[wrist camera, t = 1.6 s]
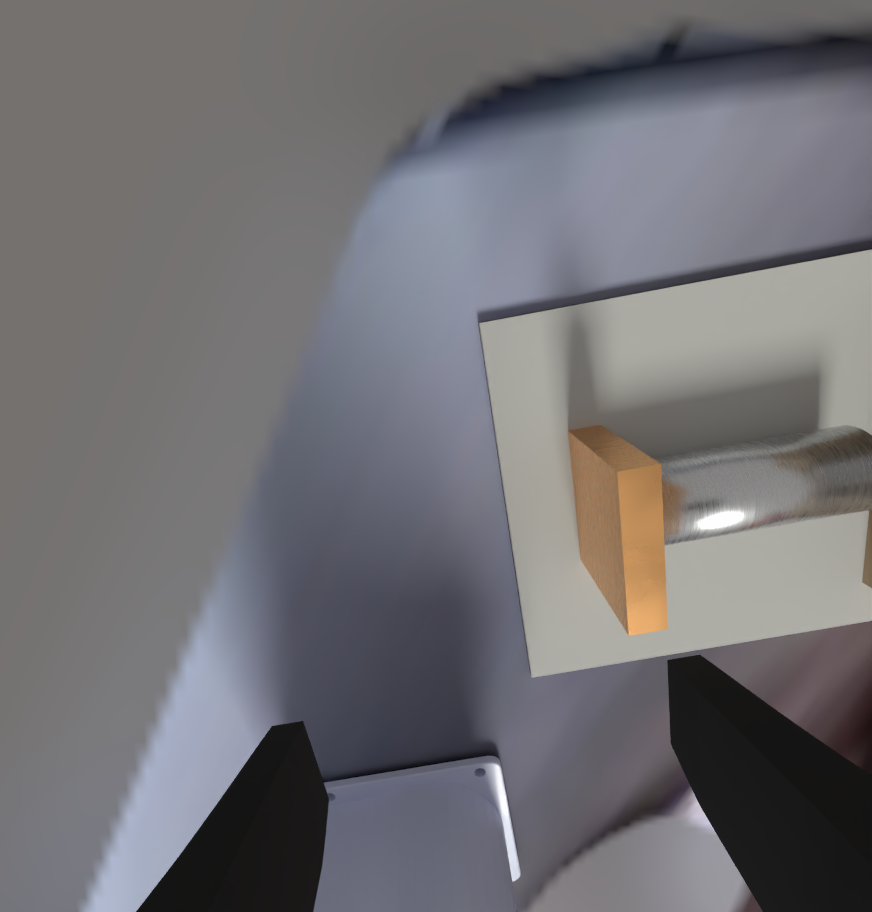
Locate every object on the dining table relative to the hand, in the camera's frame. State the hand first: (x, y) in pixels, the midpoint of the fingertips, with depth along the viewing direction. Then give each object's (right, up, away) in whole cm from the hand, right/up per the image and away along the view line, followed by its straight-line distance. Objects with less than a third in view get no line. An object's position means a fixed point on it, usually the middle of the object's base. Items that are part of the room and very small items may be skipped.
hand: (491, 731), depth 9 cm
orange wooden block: (+9, +5, +9) cm, 14 cm away
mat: (+11, +5, +9) cm, 15 cm away
